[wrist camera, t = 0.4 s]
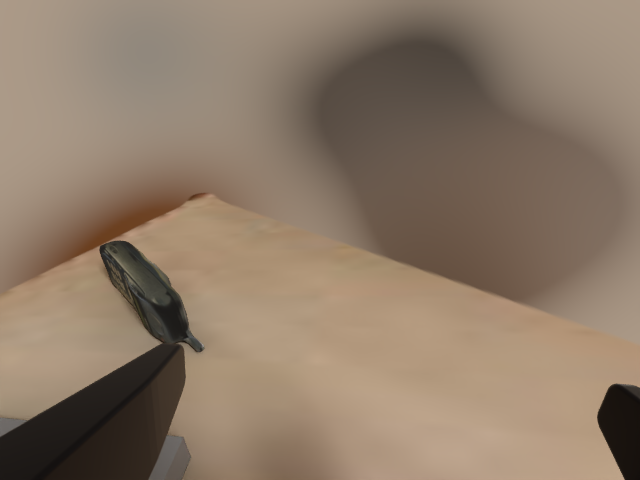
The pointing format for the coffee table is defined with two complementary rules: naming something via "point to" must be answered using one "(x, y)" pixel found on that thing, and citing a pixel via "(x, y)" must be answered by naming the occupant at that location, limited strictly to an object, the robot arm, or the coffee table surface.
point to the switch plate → (167, 466)
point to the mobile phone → (148, 293)
